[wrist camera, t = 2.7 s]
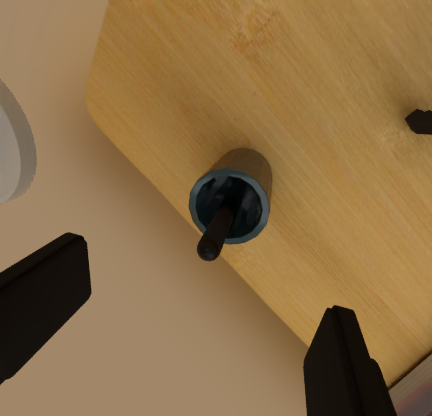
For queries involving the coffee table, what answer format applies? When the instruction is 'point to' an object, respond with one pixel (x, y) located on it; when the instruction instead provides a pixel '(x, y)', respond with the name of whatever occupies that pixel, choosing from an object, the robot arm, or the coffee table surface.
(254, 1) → the coffee table surface
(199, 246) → the stylus
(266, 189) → the pen cup
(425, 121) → the gun
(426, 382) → the picture frame
